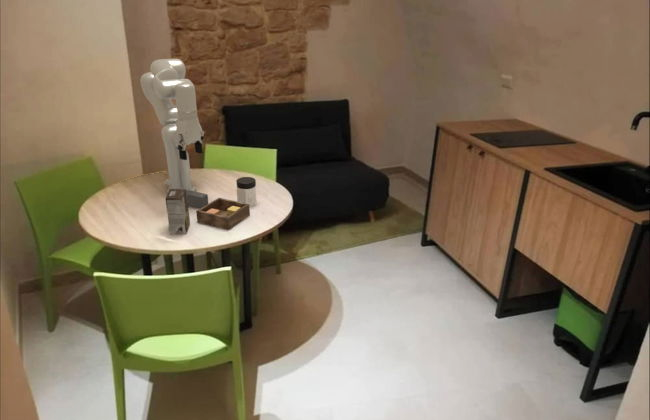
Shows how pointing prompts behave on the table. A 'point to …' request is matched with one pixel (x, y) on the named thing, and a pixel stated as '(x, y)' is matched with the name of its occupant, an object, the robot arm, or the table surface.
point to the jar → (246, 191)
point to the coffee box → (177, 211)
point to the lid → (196, 199)
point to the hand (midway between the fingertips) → (191, 156)
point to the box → (223, 213)
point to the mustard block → (232, 210)
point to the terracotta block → (214, 211)
